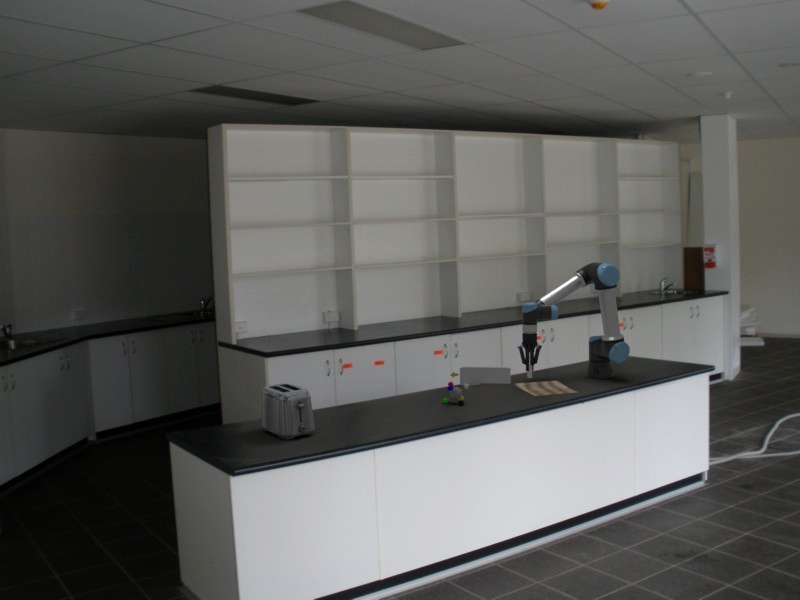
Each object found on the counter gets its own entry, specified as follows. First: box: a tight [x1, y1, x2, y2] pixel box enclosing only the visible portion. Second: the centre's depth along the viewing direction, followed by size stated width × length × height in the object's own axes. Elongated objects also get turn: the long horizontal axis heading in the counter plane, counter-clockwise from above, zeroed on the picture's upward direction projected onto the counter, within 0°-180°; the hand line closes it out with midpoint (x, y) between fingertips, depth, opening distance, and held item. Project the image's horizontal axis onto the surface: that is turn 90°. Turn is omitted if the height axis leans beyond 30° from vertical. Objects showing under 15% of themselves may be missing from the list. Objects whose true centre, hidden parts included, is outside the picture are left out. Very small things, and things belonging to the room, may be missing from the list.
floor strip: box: [527, 387, 579, 397], centre depth 385 cm, size 24×10×1 cm, turn 104°
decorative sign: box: [449, 365, 512, 386], centre depth 410 cm, size 32×4×10 cm, turn 80°
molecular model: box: [442, 381, 470, 407], centre depth 369 cm, size 11×13×10 cm
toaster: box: [261, 382, 316, 441], centre depth 323 cm, size 17×30×19 cm, turn 36°
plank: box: [514, 380, 569, 393], centre depth 397 cm, size 24×14×1 cm, turn 104°
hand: (529, 377), depth 397 cm, fingers closed
